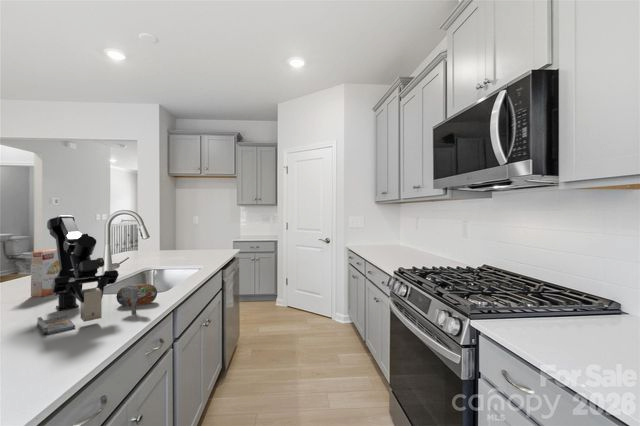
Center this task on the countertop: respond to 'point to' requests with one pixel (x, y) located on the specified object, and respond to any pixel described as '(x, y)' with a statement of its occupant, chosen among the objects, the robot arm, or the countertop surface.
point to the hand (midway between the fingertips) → (92, 300)
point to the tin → (147, 299)
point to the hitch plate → (55, 325)
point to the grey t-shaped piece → (133, 294)
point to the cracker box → (43, 272)
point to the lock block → (91, 304)
